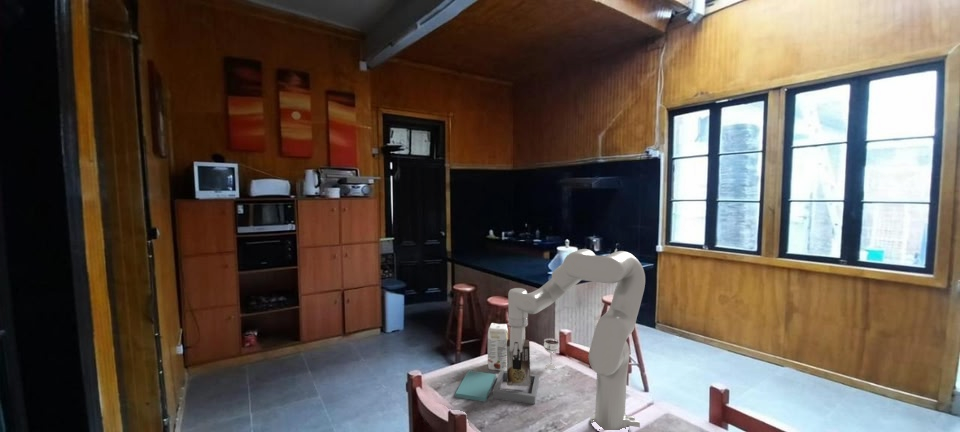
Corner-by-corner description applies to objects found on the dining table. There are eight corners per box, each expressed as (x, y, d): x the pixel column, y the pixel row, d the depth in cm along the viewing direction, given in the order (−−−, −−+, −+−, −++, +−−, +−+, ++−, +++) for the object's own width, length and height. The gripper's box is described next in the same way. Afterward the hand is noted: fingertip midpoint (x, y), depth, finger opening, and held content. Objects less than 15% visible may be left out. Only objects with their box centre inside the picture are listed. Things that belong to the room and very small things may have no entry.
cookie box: (530, 378, 154) (529, 339, 153) (530, 386, 148) (530, 346, 146) (507, 377, 155) (506, 338, 154) (506, 385, 149) (506, 345, 147)
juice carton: (506, 372, 166) (506, 329, 164) (486, 370, 168) (486, 328, 166) (508, 364, 173) (508, 323, 171) (489, 362, 175) (489, 321, 173)
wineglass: (560, 371, 167) (560, 344, 166) (544, 370, 167) (545, 344, 166) (557, 363, 174) (557, 338, 173) (542, 363, 174) (542, 337, 173)
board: (495, 377, 161) (495, 374, 161) (485, 401, 144) (485, 397, 144) (468, 373, 164) (468, 370, 164) (455, 397, 147) (455, 393, 147)
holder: (538, 382, 158) (539, 375, 158) (534, 404, 143) (534, 396, 142) (500, 376, 162) (500, 370, 162) (492, 397, 146) (492, 390, 146)
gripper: (512, 312, 159) (512, 353, 160) (504, 328, 142) (505, 374, 143) (530, 313, 157) (530, 355, 158) (524, 329, 140) (525, 376, 141)
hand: (518, 364), depth 151 cm, fingers closed on cookie box, 7 cm apart
